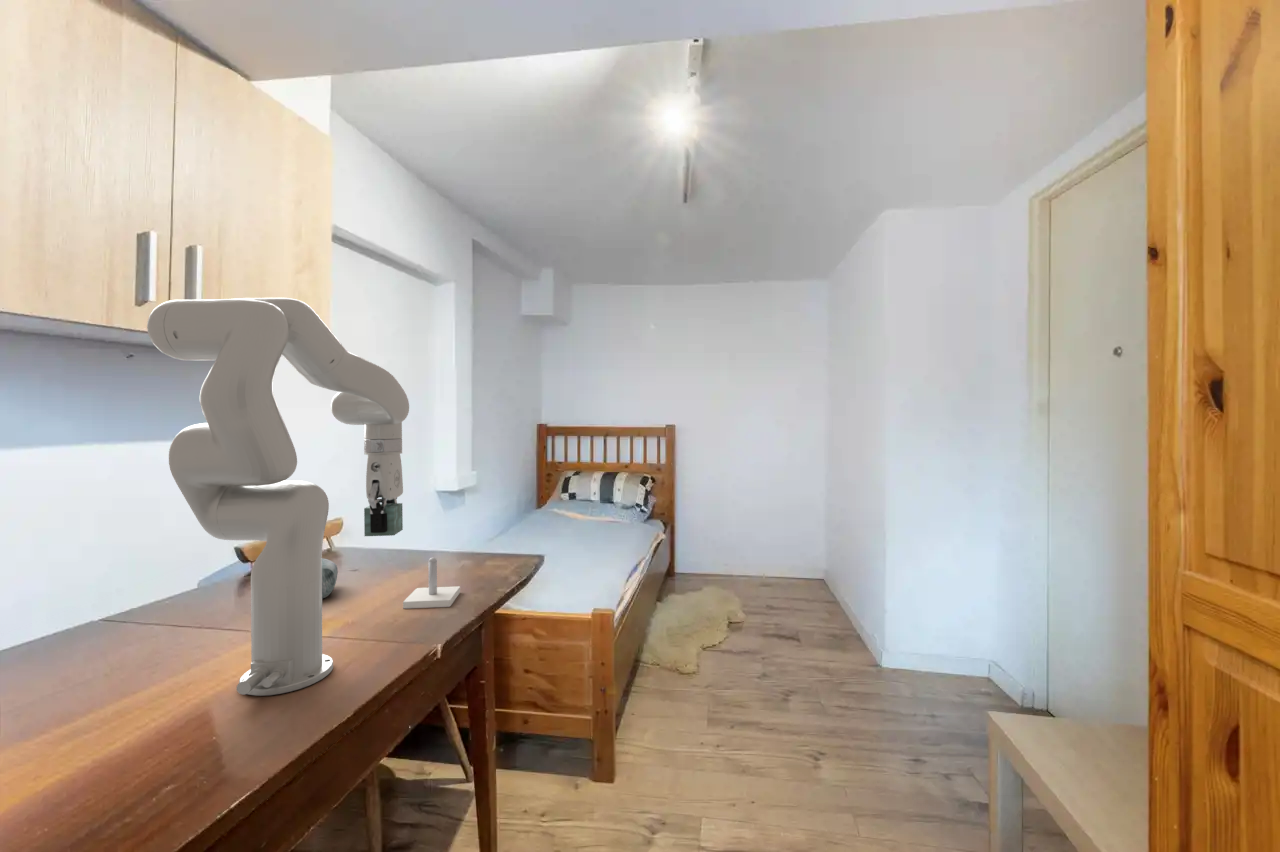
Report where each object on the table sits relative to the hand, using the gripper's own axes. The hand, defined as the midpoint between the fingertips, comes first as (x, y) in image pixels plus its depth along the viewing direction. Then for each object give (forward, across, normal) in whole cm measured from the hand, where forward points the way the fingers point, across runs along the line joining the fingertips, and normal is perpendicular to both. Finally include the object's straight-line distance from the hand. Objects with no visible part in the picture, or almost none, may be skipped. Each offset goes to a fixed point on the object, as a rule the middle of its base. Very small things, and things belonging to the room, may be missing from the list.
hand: (384, 528), depth 117 cm
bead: (+1, 0, 0) cm, 1 cm away
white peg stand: (+18, +4, -9) cm, 20 cm away
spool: (+18, +13, +20) cm, 30 cm away
